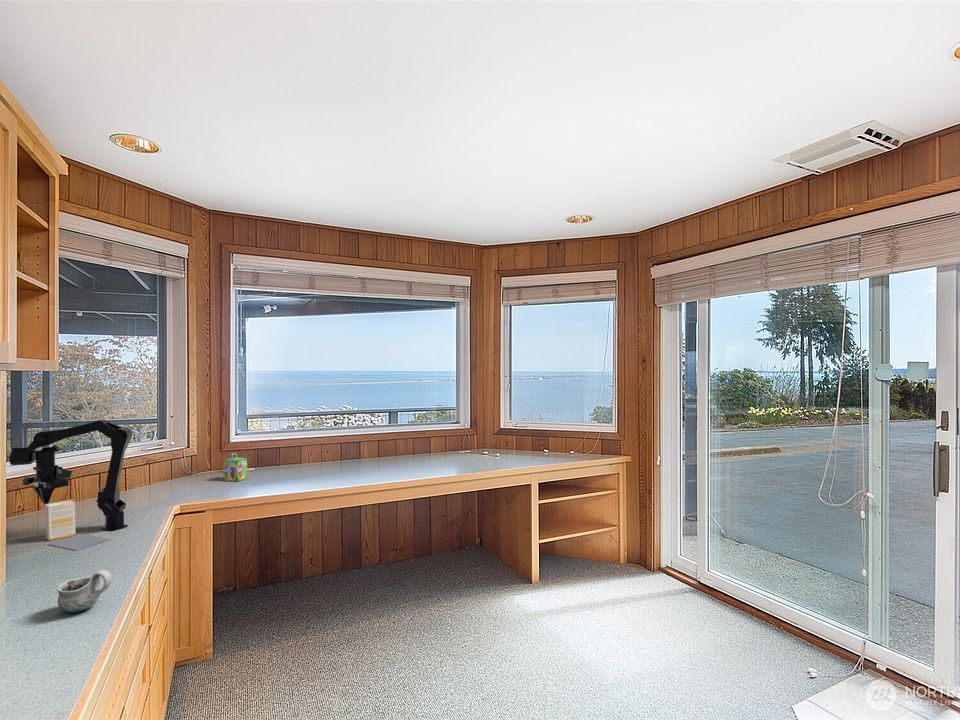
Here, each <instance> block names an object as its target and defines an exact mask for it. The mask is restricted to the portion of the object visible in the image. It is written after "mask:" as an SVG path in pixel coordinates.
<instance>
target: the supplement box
mask: <svg viewBox="0 0 960 720" xmlns="http://www.w3.org/2000/svg"><path fill="white" fill-rule="evenodd" d="M44 507H45V509H44V510H45V511H44V512H45V539H46V540H47V539H48V541H49V542H50V540H52V541H56V540H61V539H64V538H65V539H66V538H71V537H74V536H76V501H75V500H72V499H67V500H61V501H57V502H51V503H50V502H49V503H48V504H44ZM55 539H56V540H55Z"/></svg>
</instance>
